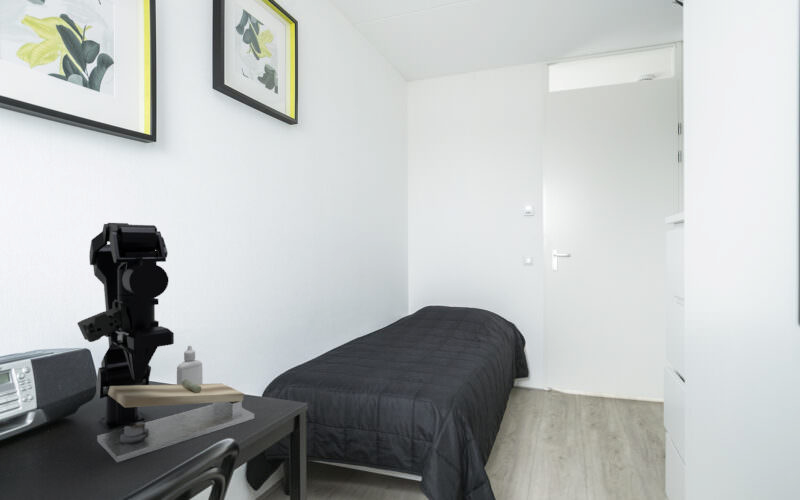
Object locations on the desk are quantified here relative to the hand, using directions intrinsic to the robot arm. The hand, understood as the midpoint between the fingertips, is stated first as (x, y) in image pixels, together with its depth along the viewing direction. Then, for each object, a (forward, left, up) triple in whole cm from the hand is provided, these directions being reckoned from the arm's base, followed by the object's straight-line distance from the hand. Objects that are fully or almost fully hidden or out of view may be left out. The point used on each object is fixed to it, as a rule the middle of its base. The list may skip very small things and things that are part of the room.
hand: (137, 379), depth 79 cm
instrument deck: (-2, +8, -6) cm, 10 cm away
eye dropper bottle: (-21, +18, -12) cm, 30 cm away
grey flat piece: (-2, +8, -12) cm, 14 cm away
